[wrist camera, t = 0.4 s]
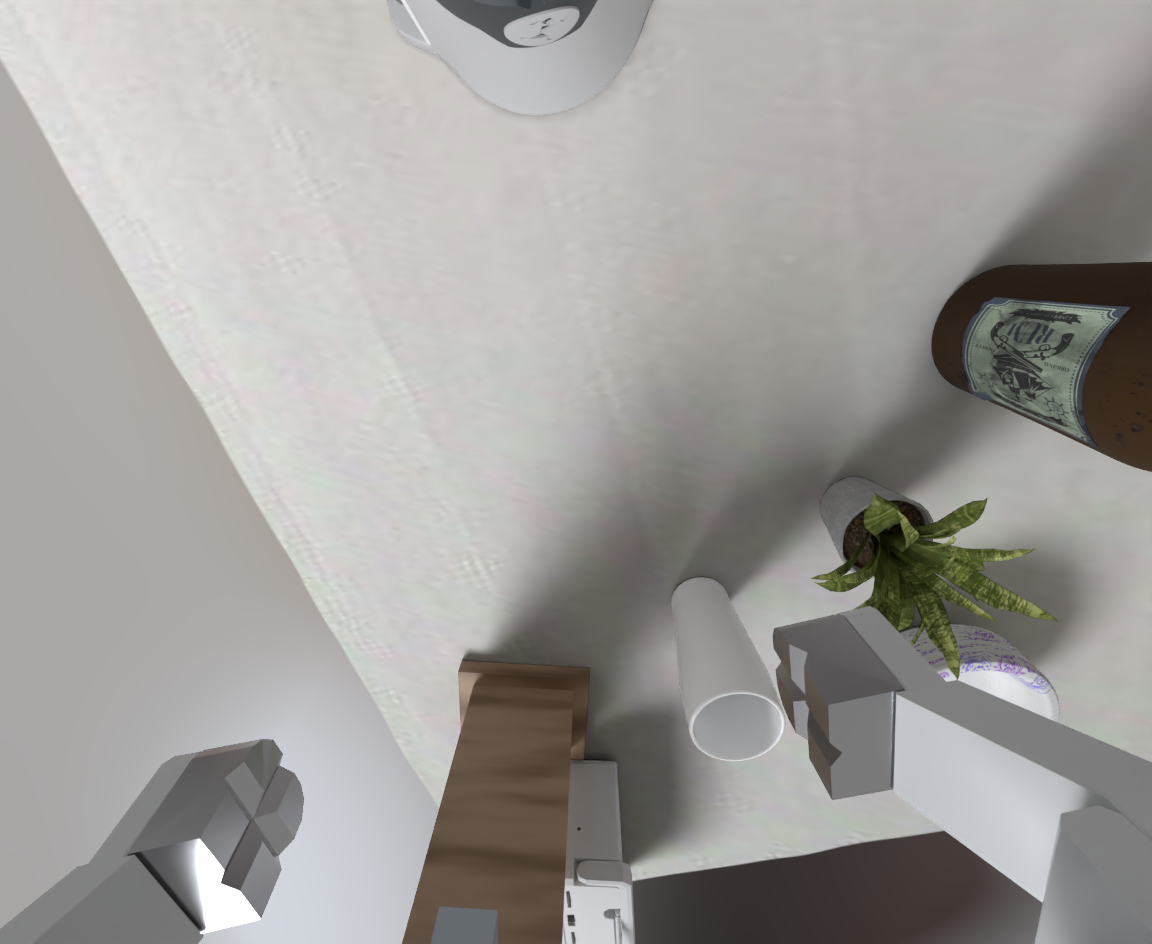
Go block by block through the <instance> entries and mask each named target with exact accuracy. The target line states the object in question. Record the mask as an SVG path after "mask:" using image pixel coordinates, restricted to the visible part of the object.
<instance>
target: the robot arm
mask: <svg viewBox="0 0 1152 944" xmlns="http://www.w3.org/2000/svg"><path fill="white" fill-rule="evenodd" d="M651 2H652V0H388V7H389V13H390V18H391V20H392V23H393V24H394V26H395V28H396V30H397V31H398V33H399V34H400V35H401V36H402V37H403V38H404V39H405V40H407V41H408V42H410V43H412V44H413V45H415V46H417V47H419V48H421V49H424V50H426V51H428V52H431V53H433V54H435V55H438V56H439V57H440V58H441V59H443V60H444V61H445V62H446V63H447V64H448V65H449V66H450V67H451V68H452V69H453V70H454V71H455V72H456V74H457V75H458V76H459V77H460V78H461V79H462V80H463V81H464V82H465V83H466V84H467V85H468V86H469V87H470V88H471V89H472V90H474V91H475V92H476V93H477V94H479V95H480V96H482V97H483V98H484V99H486V100H488V101H489V102H491V103H493V104H495V105H497V106H499V107H501V108H504V109H506V110H510V111H513V112H517V113H522V114H529V115H547V114H554V113H558V112H562V111H566V110H569V109H571V108H574V107H576V106H578V105H580V104H582V103H584V102H586V101H587V100H589V99H591V98H592V97H593V96H595V95H596V94H597V93H599V92H600V91H601V90H602V89H603V88H604V87H605V86H606V85H608V84H609V83H610V82H611V80H612V79H613V78H614V77H615V76H616V75H617V73H618V72H619V71H620V70H621V68H622V67H623V65H624V64H625V62H626V61H627V59H628V57H629V56H630V54H631V52H632V50H633V48H634V46H635V44H636V42H637V40H638V37H639V35H640V32H641V30H642V27H643V24H644V21H645V18H646V15H647V12H648V9H649V7H650V5H651ZM773 645H774V650H775V651H776V653H777V655H778V656H779V658H780V660H781V663H780V665H779V666H778V668H777V669H776V676H777V684H778V689H779V693H780V697H781V700H782V704H783V706H784V709H785V711H786V714H787V716H788V718H789V720H790V722H791V724H792V726H793V728H794V730H795V732H796V733H797V734H799V735H801V736H802V737H804V738H806V739H807V740H808V745H809V758H810V760H811V762H812V764H813V766H814V767H815V769H816V771H817V773H818V775H819V777H820V779H821V780H822V782H823V784H824V786H825V788H826V790H827V791H828V793H829V795H830V797H831V799H832V800H836V799H841V798H847V797H853V796H858V795H864V794H869V793H875V792H881V791H886V790H892V789H893V793H894V794H896V795H897V796H899V797H900V798H901V799H903V800H904V801H905V802H907V803H908V804H909V805H911V806H912V807H913V808H915V809H916V810H918V811H919V812H920V813H922V814H923V815H924V816H926V817H927V818H928V819H930V820H931V821H932V822H934V823H935V824H936V825H938V826H939V827H941V828H942V829H943V830H945V831H946V832H947V833H949V834H950V835H952V836H953V837H954V838H955V839H957V840H959V841H960V842H961V843H962V844H964V845H965V846H966V847H968V848H969V849H970V850H972V851H973V852H974V853H976V854H977V855H979V856H980V857H981V858H983V859H984V860H985V861H987V862H988V863H989V864H991V865H992V866H994V867H995V868H996V869H998V870H999V871H1000V872H1002V873H1003V874H1004V875H1006V876H1007V877H1008V878H1010V879H1011V880H1013V881H1014V882H1015V883H1017V884H1018V885H1019V886H1021V887H1022V888H1023V889H1025V890H1026V891H1027V892H1029V893H1030V894H1031V895H1033V896H1034V897H1035V898H1037V899H1038V900H1040V901H1041V902H1042V903H1043V904H1042V909H1041V914H1040V920H1039V924H1038V929H1037V935H1036V939H1035V944H1152V762H1149V761H1147V760H1145V759H1142V758H1140V757H1137V756H1135V755H1133V754H1130V753H1128V752H1126V751H1123V750H1121V749H1119V748H1116V747H1114V746H1112V745H1109V744H1107V743H1105V742H1102V741H1100V740H1097V739H1095V738H1093V737H1090V736H1088V735H1086V734H1083V733H1081V732H1079V731H1076V730H1074V729H1072V728H1069V727H1067V726H1065V725H1062V724H1060V723H1057V722H1055V721H1053V720H1050V719H1048V718H1046V717H1043V716H1041V715H1039V714H1036V713H1034V712H1032V711H1029V710H1027V709H1025V708H1022V707H1020V706H1018V705H1015V704H1013V703H1010V702H1008V701H1006V700H1003V699H1001V698H999V697H996V696H994V695H992V694H989V693H987V692H985V691H982V690H980V689H978V688H975V687H973V686H970V685H968V684H966V683H963V682H961V681H959V680H954V681H949V682H946V681H945V680H944V679H943V678H942V677H941V676H940V675H939V674H938V672H937V671H936V670H935V669H934V668H933V667H932V666H931V665H930V664H929V663H928V662H927V661H926V660H925V659H924V658H923V657H922V656H921V655H920V654H919V653H918V652H917V651H916V650H915V648H914V647H913V646H912V645H911V644H910V643H909V642H908V641H907V640H906V639H905V638H904V637H903V636H902V635H901V634H900V633H899V632H898V631H897V630H896V629H895V628H894V627H893V626H892V624H891V623H890V622H889V621H888V620H887V619H886V618H885V617H884V616H883V615H882V614H881V613H880V612H879V611H878V610H877V609H875V608H873V607H871V606H868V607H864V608H859V609H855V610H851V611H847V612H842V613H838V614H837V615H831V616H826V617H822V618H817V619H813V620H809V621H804V622H800V623H795V624H791V625H786V626H782V627H778V628H774V632H773ZM282 755H283V754H282V752H281V751H280V749H279V748H278V746H277V745H276V743H275V742H274V740H269V739H260V740H255V741H250V742H245V743H239V744H234V745H229V746H224V747H218V748H213V749H208V750H204V751H202V752H196V753H191V754H185V755H180V756H175V757H173V758H171V759H170V760H168V761H167V762H165V763H163V764H162V765H161V766H160V768H159V769H158V770H157V772H156V773H155V774H154V776H153V777H152V778H151V780H150V781H149V783H148V784H147V785H146V787H145V788H144V789H143V791H142V792H141V793H140V795H139V796H138V797H137V799H136V800H135V802H134V803H133V804H132V805H131V807H130V808H129V810H128V811H127V812H126V814H125V815H124V816H123V818H122V819H121V820H120V822H119V823H118V824H117V826H116V827H115V828H114V830H113V831H112V833H111V834H110V835H109V837H108V838H107V839H106V841H105V842H104V843H103V845H102V846H101V848H100V849H99V850H98V851H97V853H96V854H95V855H94V857H93V858H92V860H91V861H90V862H89V864H87V865H83V866H79V867H76V868H75V869H74V870H73V871H71V872H70V873H69V874H68V875H67V876H65V877H64V878H63V879H62V880H61V881H59V882H58V883H57V884H55V885H54V886H53V887H52V888H50V889H49V890H48V891H47V892H45V893H44V894H43V895H42V896H41V897H39V898H38V899H37V900H36V901H34V902H33V903H32V904H31V905H29V906H28V907H27V908H26V909H24V910H23V911H22V912H21V913H19V914H18V915H17V916H16V917H14V918H13V919H12V920H11V921H9V922H8V923H7V924H6V925H5V926H3V927H2V928H1V929H0V944H198V943H199V941H200V940H201V939H202V938H203V934H202V933H205V932H209V931H214V930H218V929H222V928H226V927H230V926H234V925H238V924H243V923H247V922H251V921H255V920H259V919H261V917H262V915H263V912H264V910H265V908H266V905H267V903H268V900H269V898H270V896H271V893H272V891H273V889H274V886H275V884H276V881H277V879H278V877H279V874H280V872H281V865H280V861H279V857H278V856H279V854H280V853H281V852H282V851H283V850H284V849H285V848H286V847H287V846H288V845H289V844H290V843H291V842H292V840H293V839H294V838H295V836H296V833H297V830H298V828H299V825H300V823H301V820H302V813H303V803H304V796H303V792H302V787H301V784H300V782H299V780H298V779H297V777H296V775H295V773H293V772H291V771H289V770H287V769H285V768H283V767H281V766H279V765H280V762H281V759H282Z"/></svg>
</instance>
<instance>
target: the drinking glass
mask: <svg viewBox="0 0 1152 944" xmlns="http://www.w3.org/2000/svg"><path fill="white" fill-rule="evenodd" d="M671 608H672V613H673V618H674V628H675V639H676V651H677V663H678V675H679V685H680V693H681V699H682V704H683V709H684V713H685V717H686V721H687V725H688V729H689V733H690V736H691V739H692V741H693V742H694V744H695V745H696V746H697V748H698V749H700V750H701V751H702V752H703V753H705V754H707V755H709V756H711V757H713V758H716V759H719V760H725V761H743V760H749V759H752V758H755V757H758V756H760V755H762V754H764V753H766V752H768V751H769V750H770V749H772V748H773V747H774V746H775V745H776V744H777V743H778V742H779V740H780V739H781V737H782V735H783V733H784V730H785V724H786V721H785V715H784V712H783V709H782V706H781V703H780V700H779V697H778V695H777V692H776V689H775V687H774V684H773V682H772V680H771V677H770V675H769V673H768V671H767V669H766V667H765V665H764V663H763V661H762V659H761V657H760V655H759V653H758V652H757V650H756V648H755V646H754V644H753V643H752V641H751V639H750V637H749V635H748V633H747V632H746V630H745V628H744V626H743V624H742V622H741V621H740V619H739V617H738V615H737V613H736V611H735V609H734V608H733V606H732V604H731V602H730V599H729V596H728V594H727V592H726V590H725V589H724V587H723V586H722V585H721V584H720V583H718V582H717V581H715V580H713V579H710V578H705V577H696V578H692V579H689V580H686V581H685V582H683V583H681V584H680V585H679V586H678V587H677V588H676V590H675V591H674V593H673V595H672V599H671Z"/></svg>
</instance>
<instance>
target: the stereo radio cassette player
mask: <svg viewBox="0 0 1152 944" xmlns="http://www.w3.org/2000/svg"><path fill="white" fill-rule="evenodd" d="M562 944H635V930H634V909H633V890H632V874H631V869H630V865H628V864H626V863H624V862H623V858H622V841H621V824H620V807H619V790H618V772H617V763H616V762H614V761H596V760H570V781H569V803H568V825H567V847H566V869H565V891H564V913H563V935H562Z"/></svg>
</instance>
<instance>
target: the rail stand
mask: <svg viewBox="0 0 1152 944" xmlns="http://www.w3.org/2000/svg"><path fill="white" fill-rule="evenodd" d="M458 678H459V699H460V721H461V732H460V736H459V740H458V743H457V747H456V750H455V754H454V758H453V761H452V765H451V769H450V772H449V776H448V779H447V783H446V787H445V790H444V794H443V797H442V801H441V805H440V808H439V812H438V816H437V819H436V823H435V826H434V830H433V834H432V838H431V841H430V844H429V848H428V852H427V855H426V859H425V863H424V866H423V870H422V873H421V877H420V881H419V884H418V888H417V891H416V895H415V899H414V903H413V906H412V910H411V913H410V917H409V920H408V924H407V928H406V931H405V935H404V939H403V942H402V944H431V940H432V936H433V931H434V927H435V923H436V919H437V914H438V910H439V906H440V907H455V908H471V909H487V910H497V918H498V944H562V935H563V913H564V891H565V869H566V847H567V825H568V803H569V781H570V760H571V759H577V760H584V748H585V735H586V721H587V707H588V694H589V680H590V668H580V667H563V666H546V665H529V664H512V663H495V662H479V661H462V662H461V665H460V668H459V671H458Z"/></svg>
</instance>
